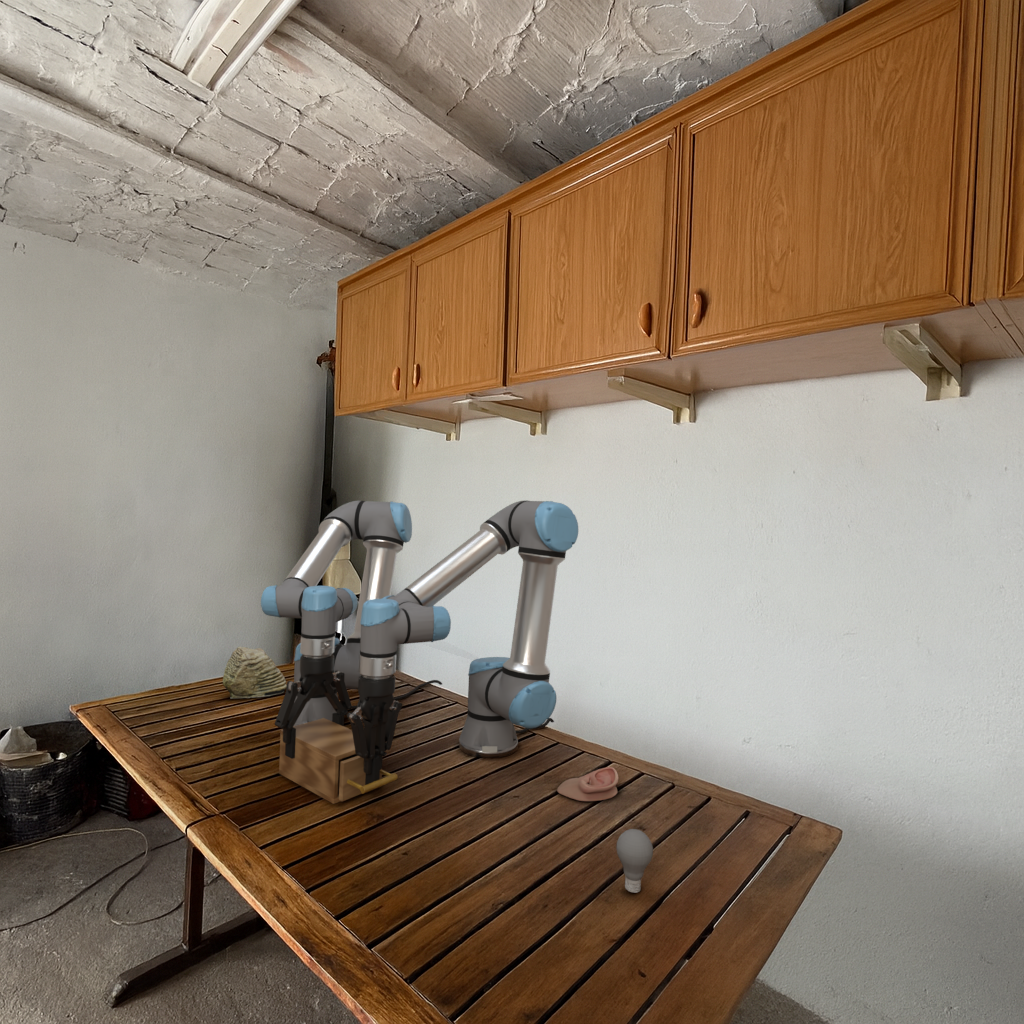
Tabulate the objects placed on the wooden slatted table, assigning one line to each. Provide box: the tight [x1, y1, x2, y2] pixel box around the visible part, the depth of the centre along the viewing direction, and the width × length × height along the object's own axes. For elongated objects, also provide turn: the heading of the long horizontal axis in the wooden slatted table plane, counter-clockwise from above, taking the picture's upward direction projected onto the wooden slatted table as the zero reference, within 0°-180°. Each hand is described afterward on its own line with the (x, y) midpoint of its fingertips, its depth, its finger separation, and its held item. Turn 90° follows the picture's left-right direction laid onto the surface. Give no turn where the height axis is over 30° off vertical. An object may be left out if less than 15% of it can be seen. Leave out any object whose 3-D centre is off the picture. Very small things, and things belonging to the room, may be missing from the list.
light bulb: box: [615, 828, 654, 894], centre depth 106 cm, size 6×6×10 cm
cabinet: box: [278, 718, 356, 805], centre depth 142 cm, size 21×12×10 cm, turn 51°
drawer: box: [338, 754, 399, 802], centre depth 138 cm, size 25×10×8 cm, turn 51°
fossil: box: [222, 646, 287, 699], centre depth 198 cm, size 9×18×15 cm, turn 132°
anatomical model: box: [556, 766, 619, 802], centre depth 142 cm, size 13×4×12 cm
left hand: (313, 748), depth 145 cm, fingers closed on cabinet, 11 cm apart
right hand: (372, 786), depth 132 cm, fingers closed
